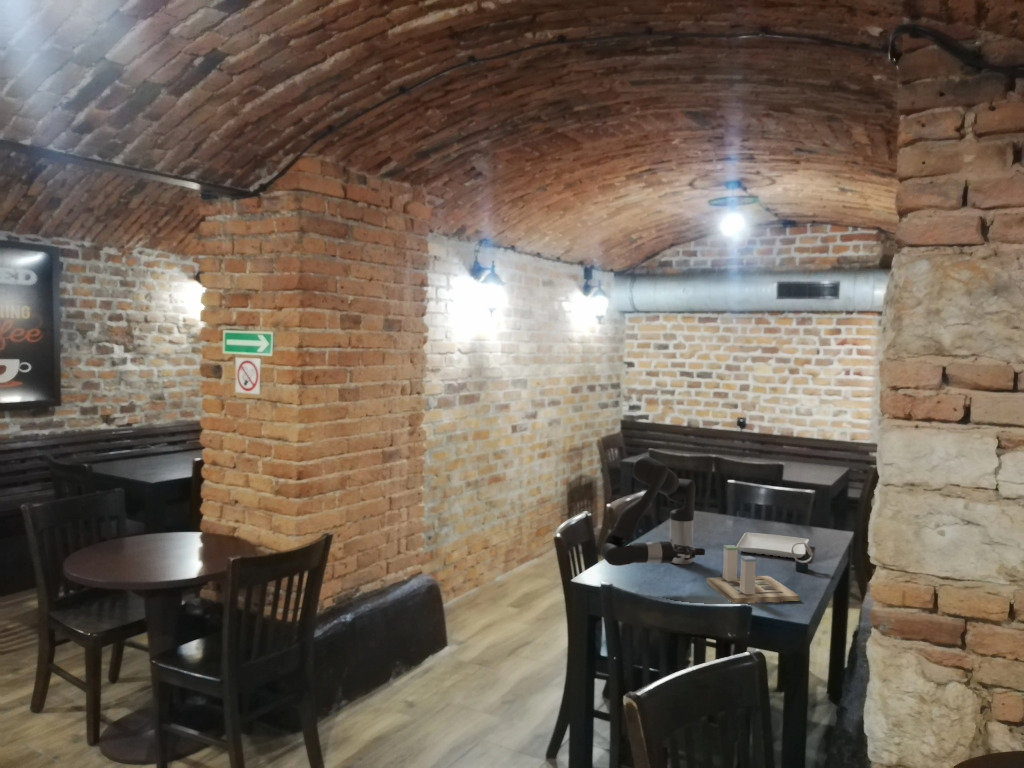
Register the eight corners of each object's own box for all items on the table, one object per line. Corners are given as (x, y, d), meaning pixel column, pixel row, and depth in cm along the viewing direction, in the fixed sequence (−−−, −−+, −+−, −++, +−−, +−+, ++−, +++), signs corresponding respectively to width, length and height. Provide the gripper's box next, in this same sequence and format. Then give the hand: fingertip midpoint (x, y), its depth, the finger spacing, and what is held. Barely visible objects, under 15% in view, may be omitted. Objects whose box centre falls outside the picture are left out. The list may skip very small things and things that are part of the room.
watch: (813, 573, 292) (814, 545, 291) (791, 571, 294) (791, 543, 294) (812, 569, 297) (813, 541, 296) (790, 566, 300) (791, 539, 299)
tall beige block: (727, 581, 272) (728, 548, 272) (722, 577, 277) (723, 545, 276) (737, 581, 273) (738, 548, 272) (732, 577, 277) (733, 544, 277)
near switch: (744, 594, 259) (745, 559, 258) (739, 590, 263) (740, 556, 262) (755, 594, 259) (756, 559, 258) (749, 589, 263) (750, 555, 263)
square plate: (809, 546, 331) (809, 537, 331) (804, 563, 306) (805, 553, 306) (744, 539, 343) (745, 530, 342) (735, 554, 318) (735, 545, 318)
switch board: (732, 604, 256) (732, 597, 256) (706, 583, 278) (706, 577, 278) (799, 601, 260) (799, 594, 260) (768, 581, 281) (768, 574, 281)
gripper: (664, 546, 263) (712, 545, 266) (651, 537, 276) (697, 536, 279) (663, 568, 264) (711, 567, 266) (651, 557, 277) (696, 556, 279)
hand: (704, 551), depth 272 cm, fingers closed
